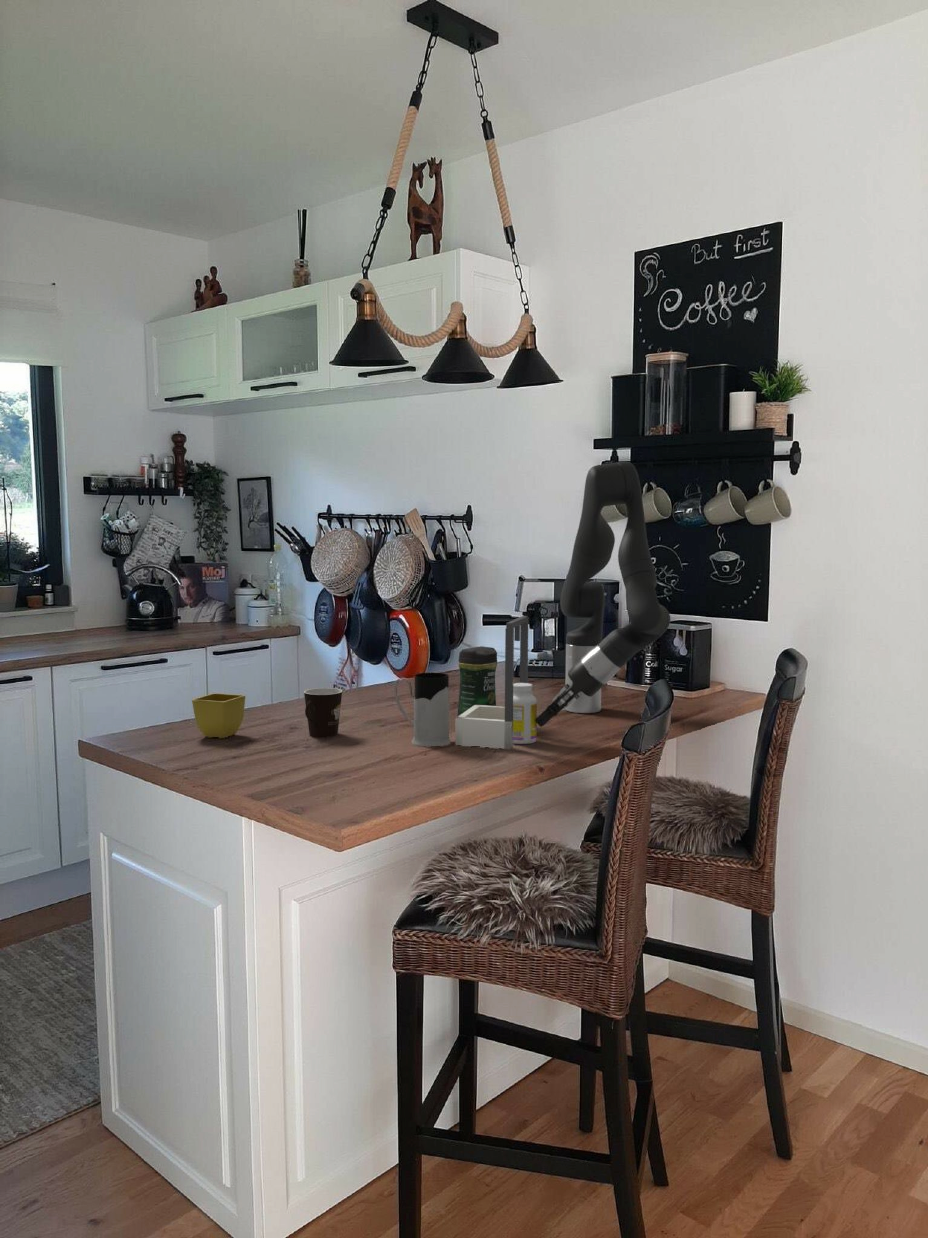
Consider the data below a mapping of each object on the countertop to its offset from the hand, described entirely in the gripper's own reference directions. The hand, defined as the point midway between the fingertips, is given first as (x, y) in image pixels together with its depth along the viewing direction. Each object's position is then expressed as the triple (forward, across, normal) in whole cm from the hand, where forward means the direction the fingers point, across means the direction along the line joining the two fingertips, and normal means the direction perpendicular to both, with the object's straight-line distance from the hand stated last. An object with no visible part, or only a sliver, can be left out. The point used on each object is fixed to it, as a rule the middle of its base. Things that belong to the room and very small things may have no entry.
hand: (538, 723), depth 213 cm
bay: (+10, 0, -4) cm, 11 cm away
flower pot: (+53, +14, -47) cm, 72 cm away
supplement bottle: (+6, 0, 0) cm, 6 cm away
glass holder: (+21, +5, -15) cm, 26 cm away
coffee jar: (+16, -17, -10) cm, 25 cm away
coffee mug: (+38, +7, -32) cm, 50 cm away
